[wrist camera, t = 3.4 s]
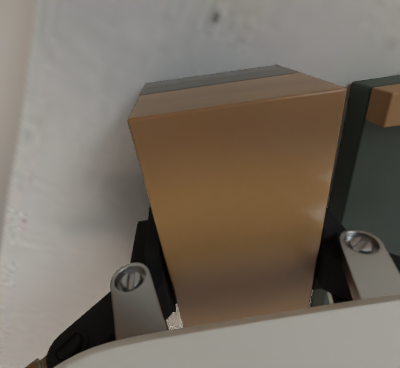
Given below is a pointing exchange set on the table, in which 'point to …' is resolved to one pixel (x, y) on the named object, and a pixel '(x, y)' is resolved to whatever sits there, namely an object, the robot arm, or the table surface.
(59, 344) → the robot arm
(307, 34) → the table surface
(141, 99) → the eraser
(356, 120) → the slate board
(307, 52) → the table surface
